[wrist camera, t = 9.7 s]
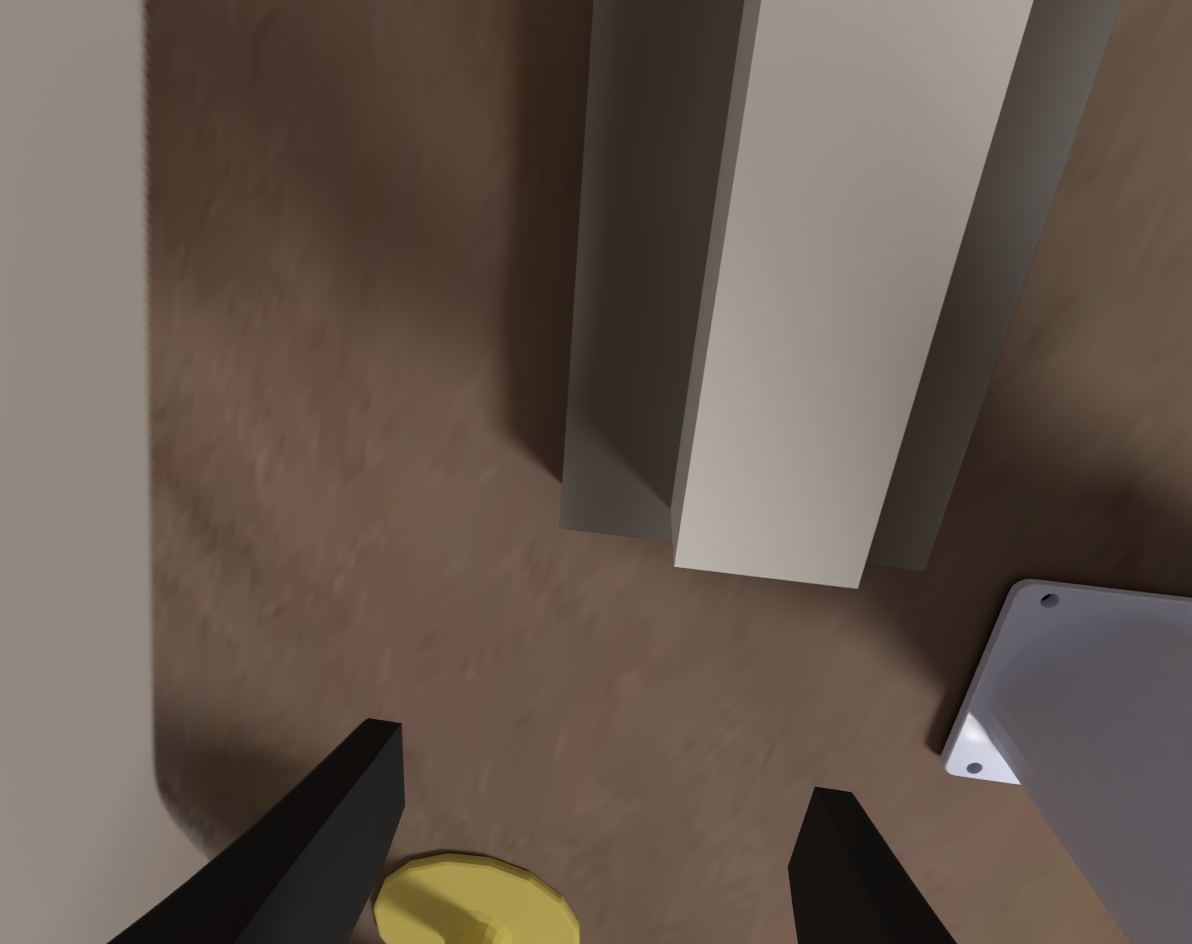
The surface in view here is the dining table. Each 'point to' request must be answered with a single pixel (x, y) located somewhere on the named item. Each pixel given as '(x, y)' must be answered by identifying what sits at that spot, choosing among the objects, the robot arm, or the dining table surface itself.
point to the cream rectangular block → (829, 270)
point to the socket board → (681, 240)
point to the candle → (471, 904)
